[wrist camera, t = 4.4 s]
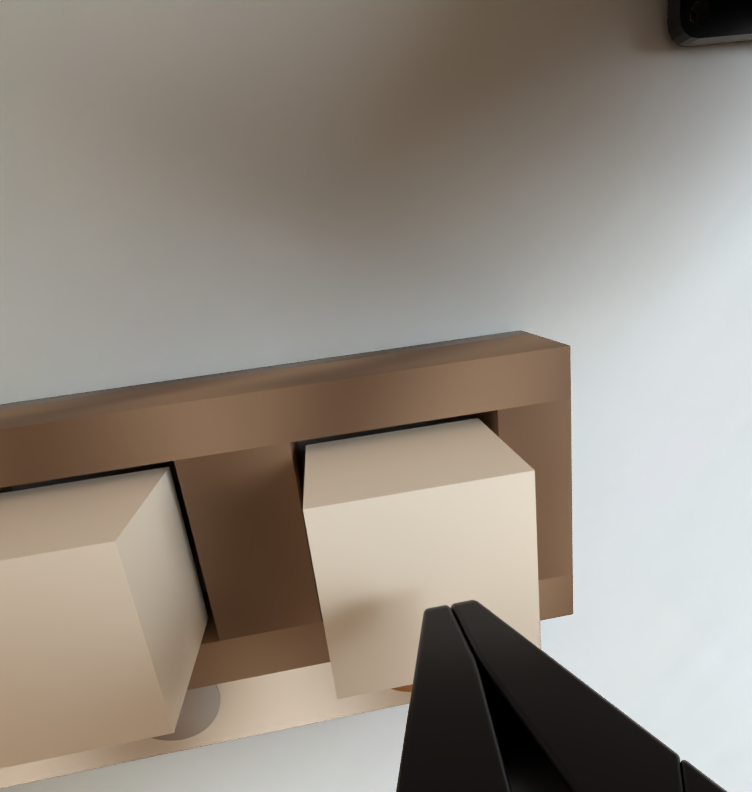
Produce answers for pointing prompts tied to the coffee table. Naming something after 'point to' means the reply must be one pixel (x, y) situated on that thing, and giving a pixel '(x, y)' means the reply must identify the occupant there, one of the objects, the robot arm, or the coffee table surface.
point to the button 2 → (416, 542)
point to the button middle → (94, 615)
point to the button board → (288, 504)
